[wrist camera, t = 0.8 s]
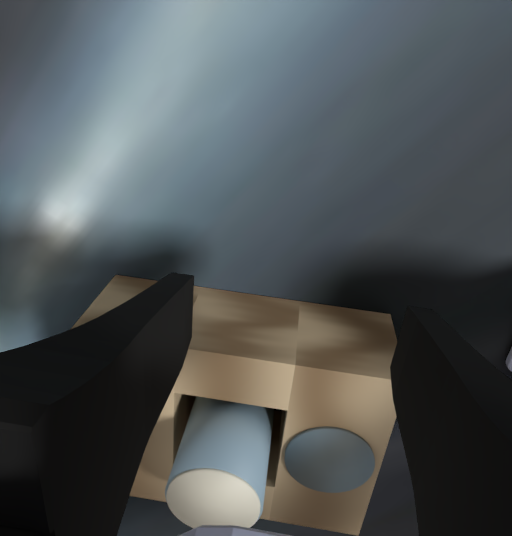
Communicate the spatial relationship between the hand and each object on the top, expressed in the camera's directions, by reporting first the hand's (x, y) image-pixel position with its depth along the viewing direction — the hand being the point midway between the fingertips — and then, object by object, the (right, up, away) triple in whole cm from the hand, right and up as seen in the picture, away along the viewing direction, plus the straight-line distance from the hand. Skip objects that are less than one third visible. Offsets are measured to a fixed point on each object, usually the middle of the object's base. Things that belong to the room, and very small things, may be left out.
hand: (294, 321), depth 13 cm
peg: (-2, -6, +10) cm, 12 cm away
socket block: (-2, -4, +13) cm, 14 cm away
